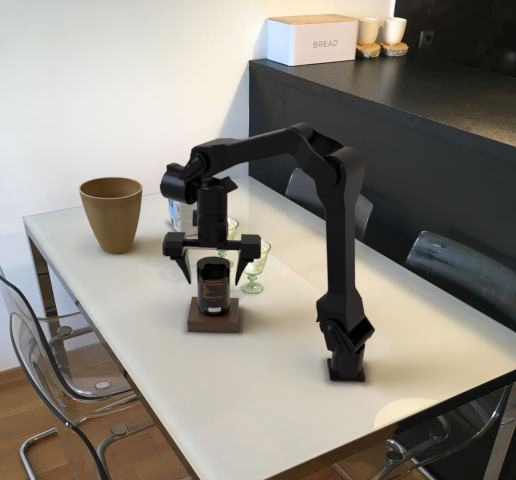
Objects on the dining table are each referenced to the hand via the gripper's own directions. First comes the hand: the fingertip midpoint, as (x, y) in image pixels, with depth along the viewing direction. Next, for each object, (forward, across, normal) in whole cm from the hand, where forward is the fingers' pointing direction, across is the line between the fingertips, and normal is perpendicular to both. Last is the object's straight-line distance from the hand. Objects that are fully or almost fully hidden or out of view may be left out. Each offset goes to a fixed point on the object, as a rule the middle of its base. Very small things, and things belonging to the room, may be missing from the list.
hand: (213, 284), depth 120 cm
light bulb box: (+8, +10, -47) cm, 49 cm away
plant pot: (+9, +26, -33) cm, 43 cm away
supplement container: (+6, 0, 0) cm, 6 cm away
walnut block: (+8, 0, 0) cm, 8 cm away
